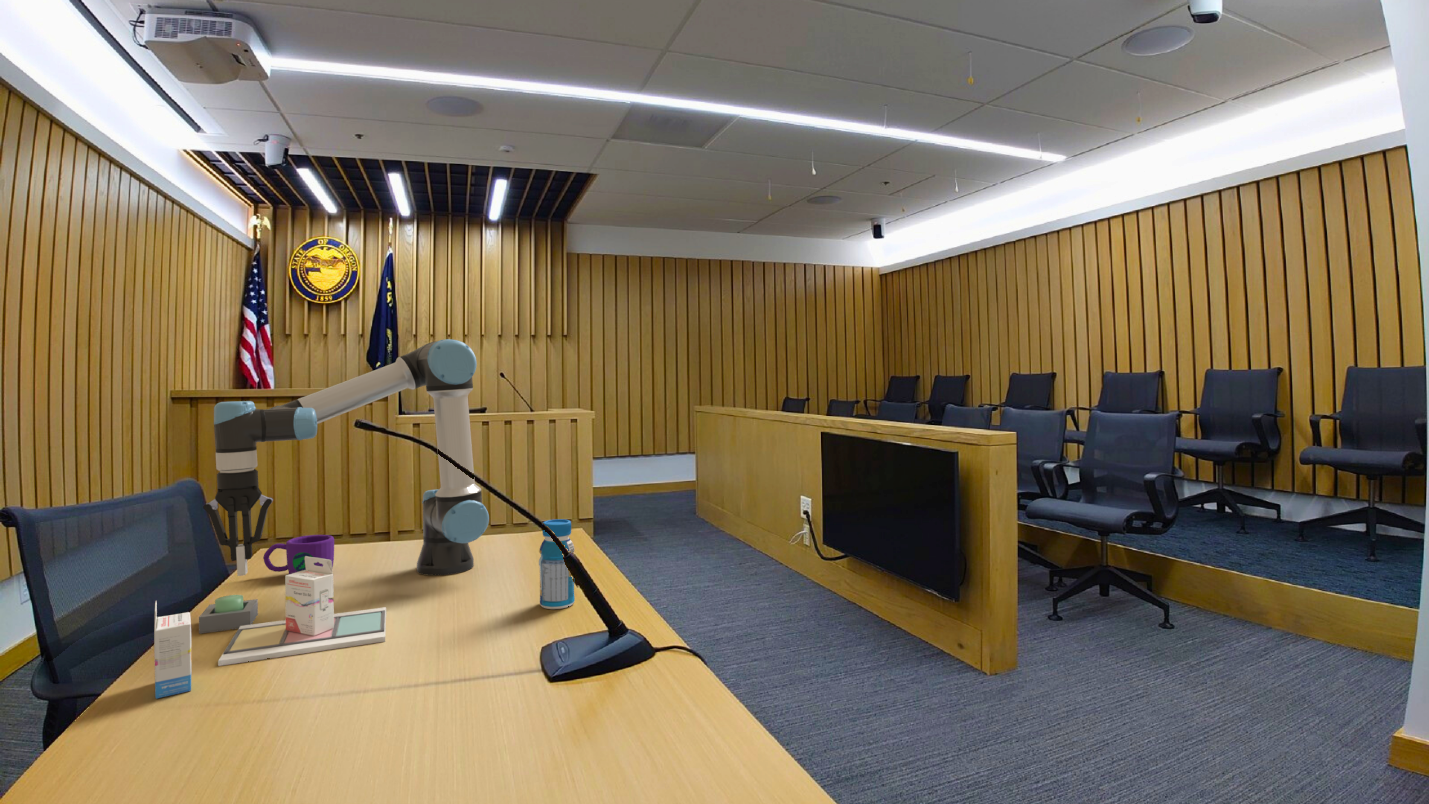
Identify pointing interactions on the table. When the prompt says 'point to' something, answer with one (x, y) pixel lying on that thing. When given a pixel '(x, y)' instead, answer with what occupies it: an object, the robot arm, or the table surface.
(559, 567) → the beverage bottle
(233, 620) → the button housing
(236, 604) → the button
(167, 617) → the ink box
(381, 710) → the table surface
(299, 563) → the mug
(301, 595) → the ink cartridge box
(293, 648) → the colored panel board
